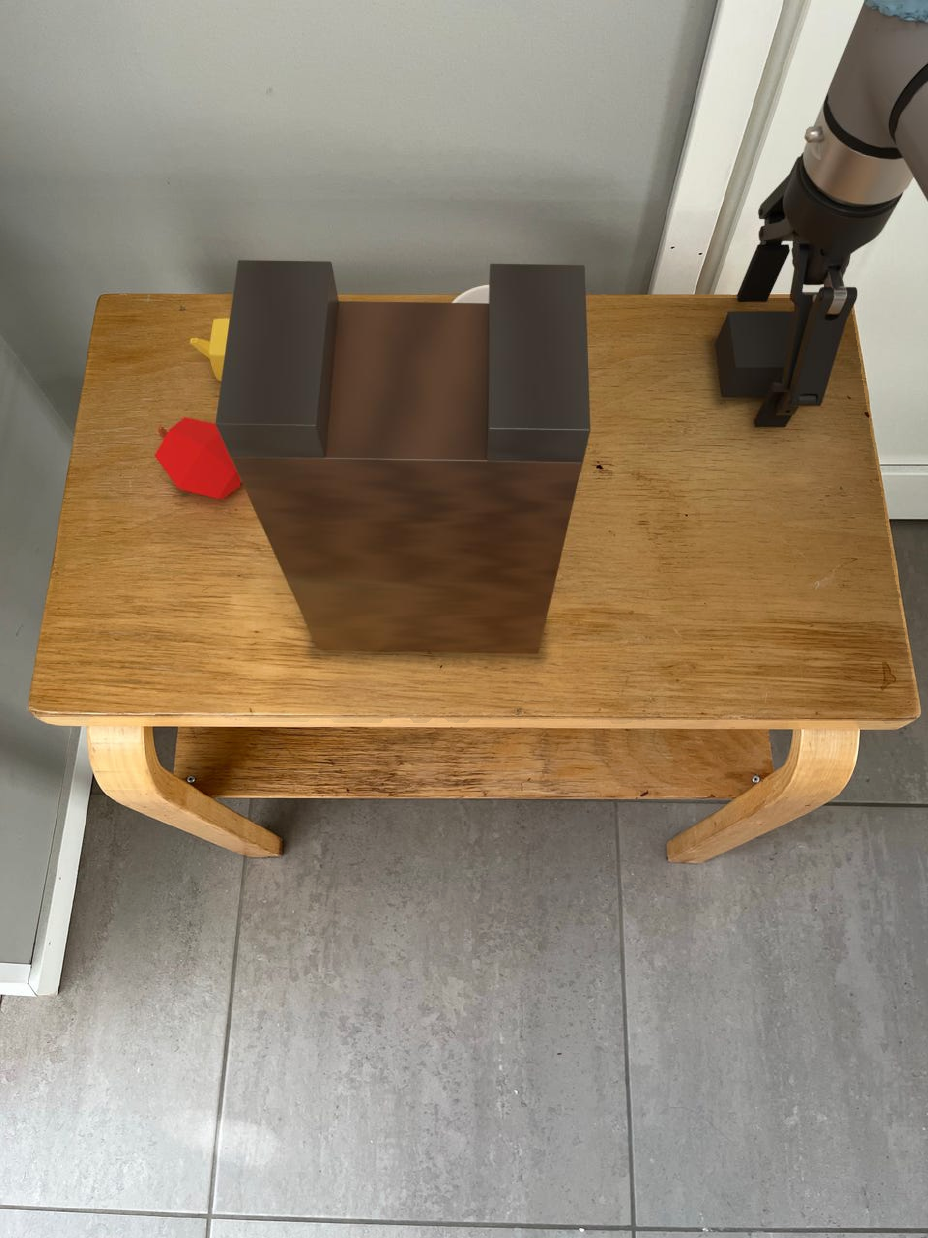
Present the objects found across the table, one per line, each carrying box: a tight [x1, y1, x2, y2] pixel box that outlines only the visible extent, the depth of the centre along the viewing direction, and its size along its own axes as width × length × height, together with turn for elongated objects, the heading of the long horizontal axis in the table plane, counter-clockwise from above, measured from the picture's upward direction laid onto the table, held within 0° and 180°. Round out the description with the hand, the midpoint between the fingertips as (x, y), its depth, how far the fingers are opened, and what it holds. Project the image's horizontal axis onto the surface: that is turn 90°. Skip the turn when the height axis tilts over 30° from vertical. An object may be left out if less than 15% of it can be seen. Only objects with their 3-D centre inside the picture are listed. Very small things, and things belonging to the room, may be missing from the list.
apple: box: [153, 416, 242, 501], centre depth 78 cm, size 7×7×8 cm
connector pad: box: [715, 310, 794, 398], centre depth 82 cm, size 7×6×4 cm
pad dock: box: [214, 259, 591, 655], centre depth 61 cm, size 18×10×33 cm, turn 89°
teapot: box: [189, 317, 230, 382], centre depth 82 cm, size 8×6×5 cm
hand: (760, 359), depth 83 cm, fingers open, 13 cm apart
